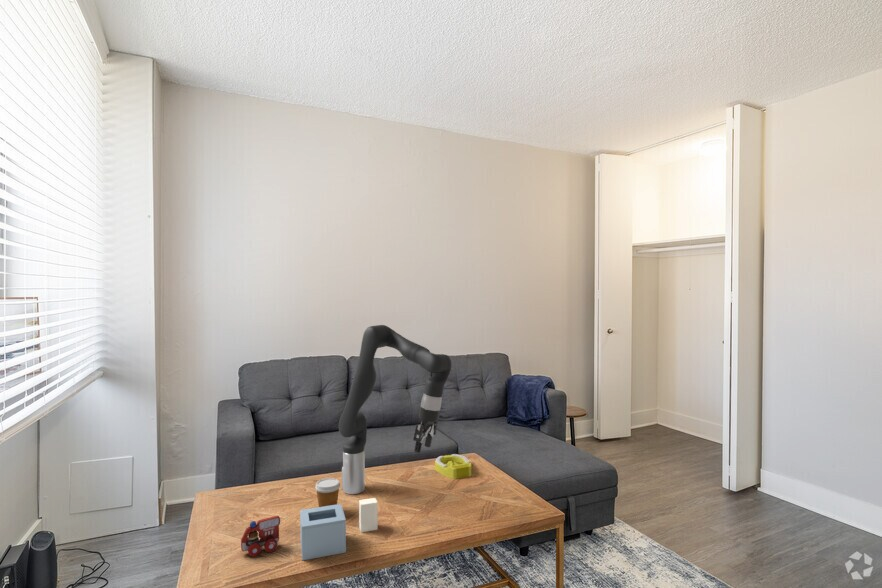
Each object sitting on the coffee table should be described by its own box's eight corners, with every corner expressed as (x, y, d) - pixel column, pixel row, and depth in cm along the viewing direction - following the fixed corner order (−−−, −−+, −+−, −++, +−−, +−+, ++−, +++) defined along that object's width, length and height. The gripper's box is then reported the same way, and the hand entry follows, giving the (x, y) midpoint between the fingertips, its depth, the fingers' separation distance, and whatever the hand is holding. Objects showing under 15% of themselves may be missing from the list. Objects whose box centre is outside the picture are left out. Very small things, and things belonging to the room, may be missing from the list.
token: (375, 524, 176) (375, 497, 176) (377, 529, 172) (377, 502, 172) (359, 527, 174) (359, 500, 174) (361, 532, 170) (360, 504, 170)
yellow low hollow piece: (446, 481, 215) (446, 470, 215) (430, 465, 234) (430, 455, 234) (478, 475, 221) (478, 465, 221) (460, 460, 240) (460, 450, 240)
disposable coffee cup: (327, 521, 178) (327, 489, 178) (310, 514, 183) (309, 484, 183) (345, 511, 186) (345, 480, 186) (328, 505, 191) (327, 475, 191)
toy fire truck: (240, 549, 160) (239, 519, 159) (278, 540, 166) (278, 510, 165) (242, 560, 154) (241, 528, 153) (282, 549, 159) (281, 519, 159)
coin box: (302, 560, 153) (301, 526, 153) (300, 541, 164) (300, 510, 164) (345, 552, 158) (345, 519, 157) (341, 534, 169) (341, 503, 169)
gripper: (429, 401, 185) (422, 442, 185) (413, 406, 172) (404, 450, 172) (447, 406, 182) (439, 448, 182) (431, 412, 169) (422, 457, 169)
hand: (422, 449), depth 177 cm, fingers open, 8 cm apart
